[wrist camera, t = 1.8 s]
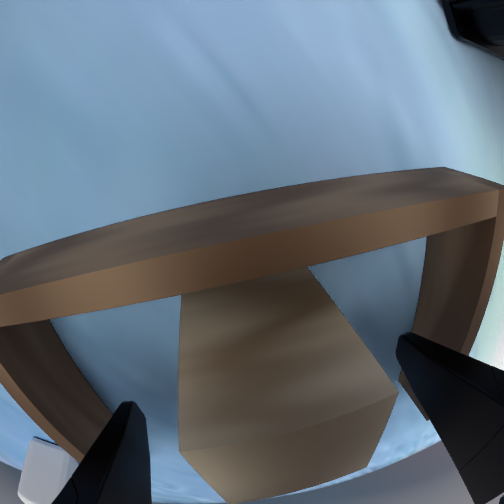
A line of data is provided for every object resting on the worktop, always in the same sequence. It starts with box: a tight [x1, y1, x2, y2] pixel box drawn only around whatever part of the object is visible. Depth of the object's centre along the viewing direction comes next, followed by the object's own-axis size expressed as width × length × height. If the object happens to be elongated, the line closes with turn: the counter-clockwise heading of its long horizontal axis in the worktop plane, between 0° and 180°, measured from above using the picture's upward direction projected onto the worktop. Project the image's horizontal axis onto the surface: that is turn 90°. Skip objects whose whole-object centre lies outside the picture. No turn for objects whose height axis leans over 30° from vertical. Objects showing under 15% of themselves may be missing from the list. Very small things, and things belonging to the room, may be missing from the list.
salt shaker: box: [18, 438, 79, 504], centre depth 10 cm, size 4×4×10 cm
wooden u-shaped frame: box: [0, 167, 504, 463], centre depth 11 cm, size 20×14×4 cm
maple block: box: [178, 267, 399, 504], centre depth 9 cm, size 4×4×7 cm
